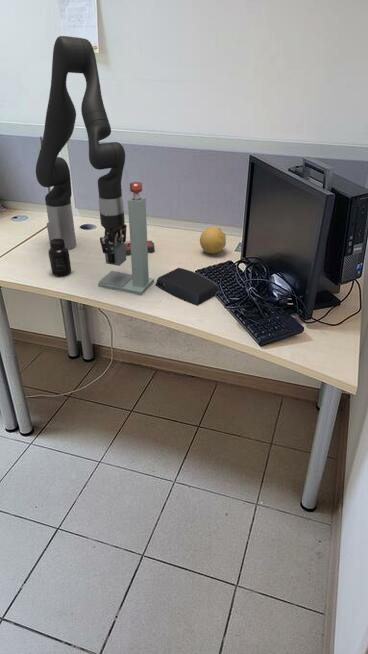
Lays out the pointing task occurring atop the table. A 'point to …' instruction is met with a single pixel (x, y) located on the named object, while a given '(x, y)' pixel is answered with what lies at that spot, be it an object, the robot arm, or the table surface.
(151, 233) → the table surface
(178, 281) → the external hard drive
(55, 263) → the supplement bottle
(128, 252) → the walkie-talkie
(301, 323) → the table surface
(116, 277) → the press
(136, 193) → the plunger
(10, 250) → the table surface
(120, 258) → the block
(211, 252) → the stress ball
